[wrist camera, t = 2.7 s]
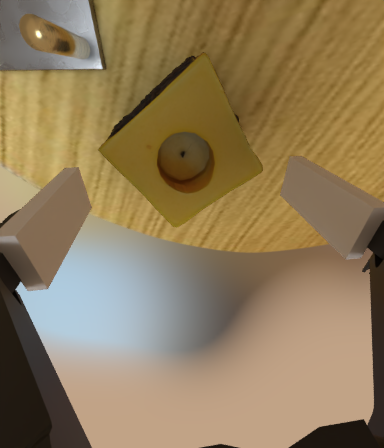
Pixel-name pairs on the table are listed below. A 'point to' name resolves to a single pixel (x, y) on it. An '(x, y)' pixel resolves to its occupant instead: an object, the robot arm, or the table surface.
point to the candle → (183, 143)
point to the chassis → (49, 35)
